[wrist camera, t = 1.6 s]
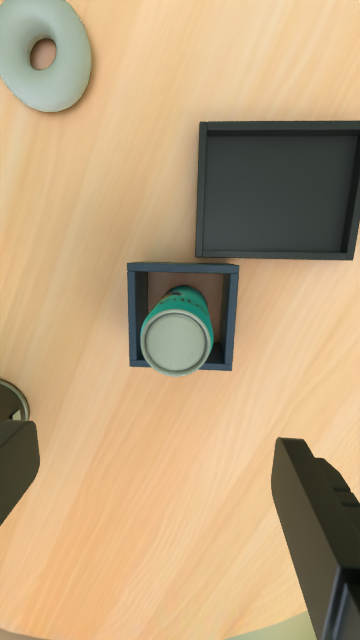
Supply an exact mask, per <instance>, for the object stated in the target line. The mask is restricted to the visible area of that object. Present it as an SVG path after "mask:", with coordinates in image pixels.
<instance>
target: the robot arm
mask: <svg viewBox="0 0 360 640" xmlns="http://www.w3.org/2000/svg"><path fill="white" fill-rule="evenodd" d="M28 419H29V407H28V404H27V401H26V399H25V398H24V396H23V395H22V393H21V392H20V391H19V390H18V389H17V388H15V387H14V386H13V385H11V384H9V383H7V382H5V381H2V380H0V526H1V524H2V523H3V522H4V520H5V519H6V518H7V516H8V515H9V513H10V512H11V511H12V509H13V508H14V507H15V505H16V504H17V503H18V501H19V500H20V499H21V497H22V496H23V494H24V493H25V492H26V490H27V489H28V488H29V486H30V485H31V484H32V482H33V481H34V479H35V477H36V475H37V473H38V470H39V465H40V455H39V447H38V438H37V430H36V425H35V423H34V422H33V421H28ZM271 489H272V496H273V500H274V503H275V507H276V510H277V513H278V516H279V519H280V523H281V526H282V529H283V532H284V535H285V539H286V542H287V545H288V548H289V551H290V555H291V558H292V561H293V564H294V568H295V571H296V574H297V577H298V580H299V584H300V587H301V590H302V593H303V596H304V600H305V603H306V606H307V609H308V612H309V615H310V619H311V622H312V625H313V628H314V632H315V634H316V638H317V640H360V503H359V501H358V500H357V498H356V497H355V495H354V494H353V493H351V491H350V488H349V486H348V485H347V483H346V482H345V480H344V479H343V477H342V476H341V474H340V473H339V472H338V471H337V470H336V469H335V468H334V467H333V466H331V465H330V464H329V463H328V462H327V461H326V460H325V459H324V458H315V457H314V456H313V454H312V452H311V450H310V449H309V447H308V445H307V444H306V442H305V441H304V440H303V439H296V438H280V437H278V438H277V440H276V444H275V452H274V459H273V467H272V475H271Z"/></svg>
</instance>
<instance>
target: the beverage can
mask: <svg viewBox="0 0 360 640" xmlns="http://www.w3.org/2000/svg"><path fill="white" fill-rule="evenodd" d="M140 338H141V350H142V353H143V356H144V358H145V360H146V361H147V362H148V364H149V365H150V366H151V367H152V368H153V369H155V370H156V371H158V372H160V373H162V374H164V375H168V376H175V377H178V376H185V375H188V374H191V373H193V372H195V371H196V370H198V369H199V368H200V367H201V366H202V365H203V364H204V362H205V361H206V360H207V358H208V355H209V354H210V352H211V349H212V346H213V340H214V336H213V329H212V325H211V321H210V316H209V312H208V307H207V303H206V300H205V298H204V296H203V295H202V294H201V293H200V292H199V291H198V290H196V289H195V288H193V287H190V286H178V287H175V288H172V289H171V290H169V291H168V292H167V293H166V294H165V295H164V297H163V298H162V299H161V300H160V301H159V303H158V304H157V305H156V306H155V307H154V309H153V310H152V311H151V312H150V313H149V315H148V316H147V317H146V319H145V320H144V322H143V325H142V328H141V336H140Z"/></svg>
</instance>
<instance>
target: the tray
mask: <svg viewBox="0 0 360 640" xmlns="http://www.w3.org/2000/svg"><path fill="white" fill-rule="evenodd" d="M359 222H360V121H224V122H208V123H207V122H200V130H199V160H198V190H197V220H196V250H195V257H213V258H261V259H308V260H353V257H354V252H355V246H356V240H357V234H358V228H359Z"/></svg>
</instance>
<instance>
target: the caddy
mask: <svg viewBox="0 0 360 640" xmlns="http://www.w3.org/2000/svg"><path fill="white" fill-rule="evenodd" d="M127 271H128V272H127V280H128V319H129V358H130V366H131V367H151V366H150V365H149V364H148V362H147V361H146V360H145V358H144V356H143V353H142V350H141V338H140V336H141V328H142V325H143V322H144V320H145V319H146V317H147V316H148V272H186V273H223V286H222V303H221V320H220V338H219V343H213V346H212V349H211V352H210V354H209V355H208V358H207V360H206V361H205V362H204V364H203V365H202V366H201V367H200V368H199V369H200V370H222V371H232V362H233V348H234V334H235V320H236V306H237V292H238V279H239V274H238V273H239V265H234V264H218V263H174V262H133V263H127Z"/></svg>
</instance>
